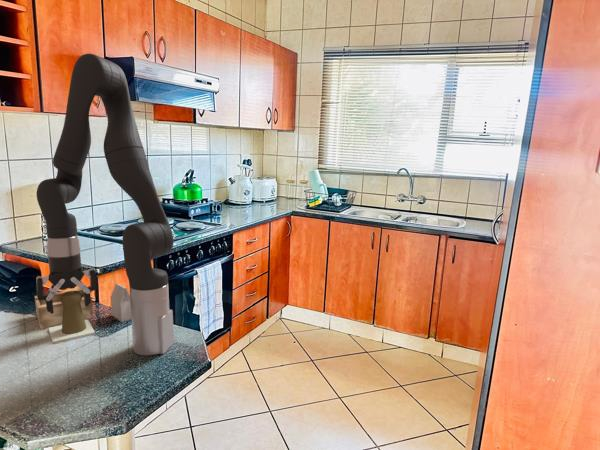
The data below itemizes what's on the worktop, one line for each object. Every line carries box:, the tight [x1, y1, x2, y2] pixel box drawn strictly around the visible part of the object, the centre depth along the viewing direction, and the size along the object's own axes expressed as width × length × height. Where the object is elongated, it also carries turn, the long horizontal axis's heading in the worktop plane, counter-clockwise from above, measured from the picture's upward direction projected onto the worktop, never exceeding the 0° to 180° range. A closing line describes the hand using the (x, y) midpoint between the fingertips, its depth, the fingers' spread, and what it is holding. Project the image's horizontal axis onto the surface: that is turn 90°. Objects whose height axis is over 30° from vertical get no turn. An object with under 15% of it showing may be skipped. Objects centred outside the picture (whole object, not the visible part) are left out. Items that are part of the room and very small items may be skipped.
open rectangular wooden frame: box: [34, 287, 94, 330], centre depth 123 cm, size 14×11×6 cm
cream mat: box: [48, 319, 96, 345], centre depth 114 cm, size 10×10×1 cm
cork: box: [60, 290, 86, 334], centre depth 113 cm, size 6×6×11 cm
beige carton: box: [110, 283, 132, 323], centre depth 124 cm, size 4×7×10 cm, turn 48°
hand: (69, 309), depth 113 cm, fingers open, 8 cm apart
